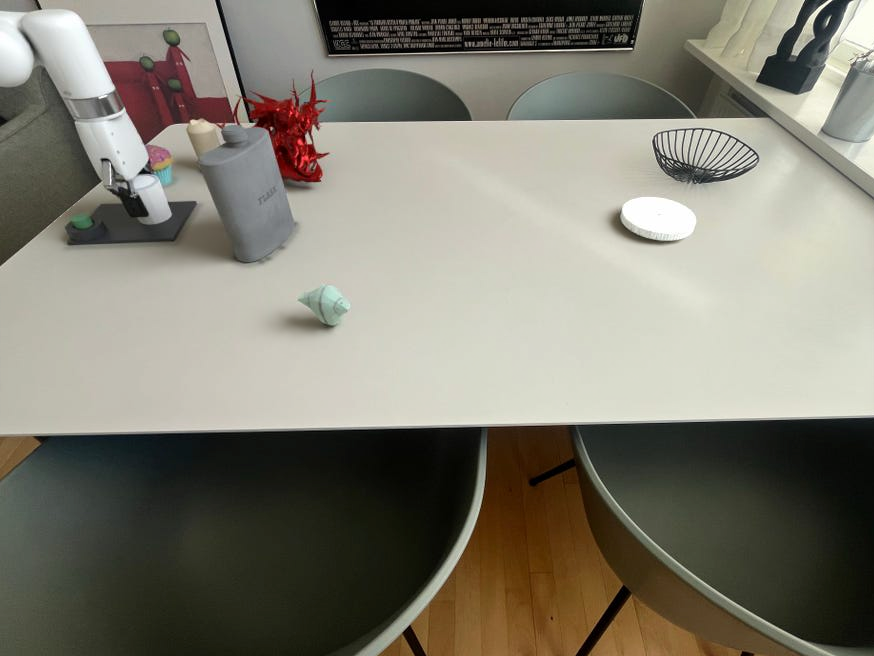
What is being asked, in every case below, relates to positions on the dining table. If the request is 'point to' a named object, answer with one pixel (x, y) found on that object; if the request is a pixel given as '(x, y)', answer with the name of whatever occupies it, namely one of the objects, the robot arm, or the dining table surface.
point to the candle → (202, 136)
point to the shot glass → (151, 198)
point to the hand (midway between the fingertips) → (147, 205)
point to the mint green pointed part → (326, 304)
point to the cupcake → (160, 162)
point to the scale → (129, 226)
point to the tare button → (81, 221)
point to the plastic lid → (658, 218)
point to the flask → (248, 192)
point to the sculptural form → (289, 133)
